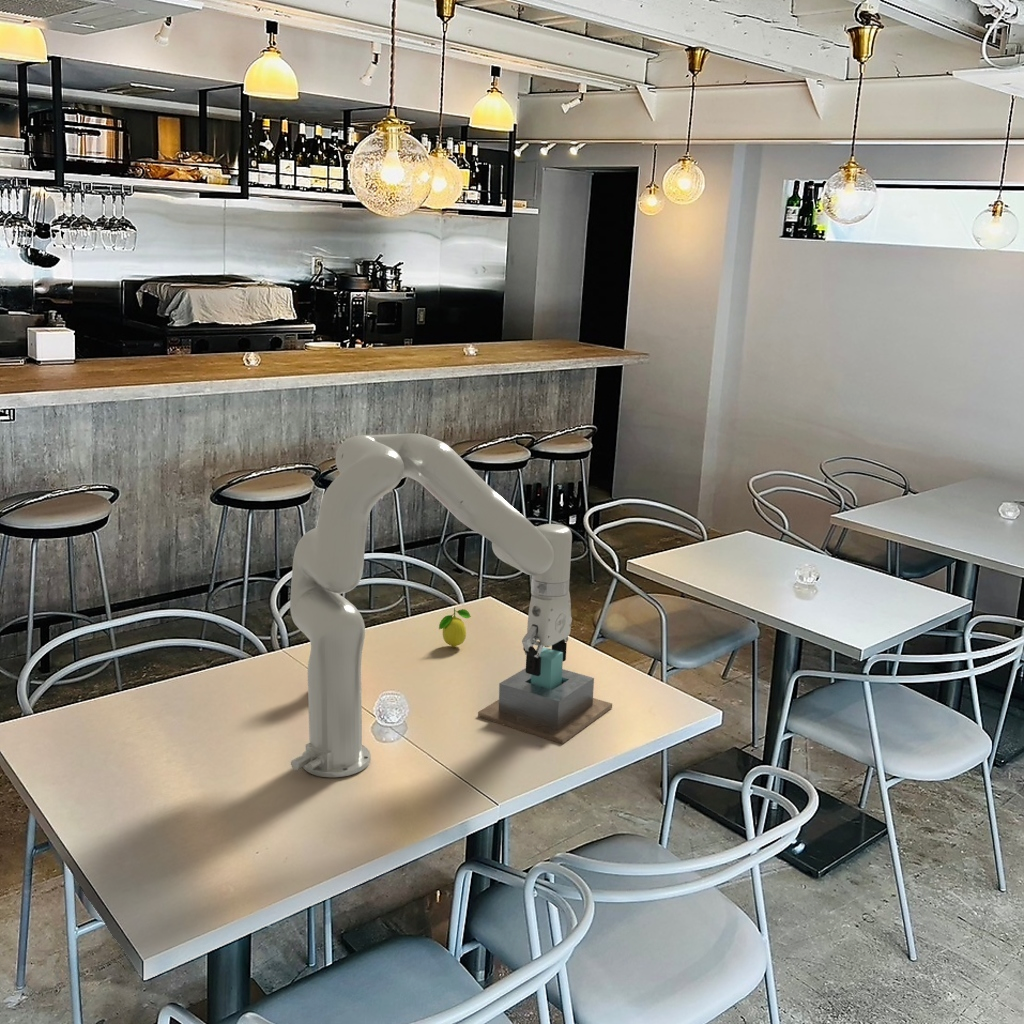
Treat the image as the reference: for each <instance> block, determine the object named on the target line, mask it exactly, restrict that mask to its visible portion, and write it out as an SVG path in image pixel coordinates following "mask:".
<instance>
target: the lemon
mask: <svg viewBox="0 0 1024 1024" xmlns="http://www.w3.org/2000/svg"><path fill="white" fill-rule="evenodd" d="M456 613H457V614H458V615H459V616H460V617H462V618H464V619H471V617H472V616H471V614H470V612H469V611H468V610H466V609H463V608H462V609H459V610H456V607H454V608H453V614H451V615H450V614H449V615H445V616H444V617H443V618H441V620H440V622H439V625H438V630H441V629H442V639H443V640H444V642H445V643H446V644H447V645H449V646H451V647H452V648H456V647H457V646H460V645H462V644H463V643H464V641H465V640H466V638H467V637H466V636H467V630H466V625H465V623H464V622H463V620H462V619H461V618H459V617H457V616H456Z"/></svg>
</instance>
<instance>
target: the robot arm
mask: <svg viewBox="0 0 1024 1024" xmlns="http://www.w3.org/2000/svg"><path fill="white" fill-rule="evenodd" d="M335 465H336V468H337V470H338V472H339V474H338V475H337V477H335V478H334V479H333V481H332V482H331V483H330V485H329V486H328V487H327V489H326V490H325V493H324V494H323V496H322V499H321V501H320V506H319V512H318V519H317V524H316V525H317V527H315V528H312V529H310V530H309V531H307V532H305V533H304V534H303V535H302V537H300V539H299V540H298V542H297V544H296V547H295V549H294V554H293V558H292V560H293V561H292V571H291V583H290V584H291V585H290V596H289V597H290V600H289V601H290V602H289V604H290V605H289V607H290V609H289V610H290V616H291V618H292V621H293V623H294V625H295V626H296V627H297V628H298V629H299V630H300V631H301V632H302V634H304V635H305V637H306V638H307V639H308V640H309V642H310V653H309V657H308V661H307V662H308V664H307V689H308V691H307V694H308V695H307V696H308V731H309V732H308V734H309V735H308V736H309V740H308V743H307V744H305V750H304V752H302V754H301V755H299V756H297V757H296V758H294V759H292V760H291V761H290V765H291V768H292V769H293V770H295V771H297V770H300V769H302V768H303V770H305V771H306V772H308V774H312V775H314V776H317V777H322V778H344V777H348V776H352V775H355V774H357V773H360V772H361V771H363V770H365V769H366V768H367V767H368V766H369V765H370V763H371V761H372V760H371V759H372V758H371V756H372V755H371V752H370V750H369V749H368V747H366V746H365V745H363V723H362V722H363V721H362V719H363V718H362V717H363V715H362V712H363V711H362V708H363V707H362V705H363V704H362V698H363V697H362V657H363V648H364V644H365V636H366V627H365V621H364V619H363V616H362V614H361V613H360V611H359V610H358V609H357V607H356V606H355V605H354V604H353V603H352V602H350V601H349V600H348V599H346V598H345V597H344V596H342V595H341V594H346V593H348V592H351V591H353V590H354V589H356V588H357V586H358V585H359V583H360V581H361V579H362V577H363V572H364V563H365V550H366V539H367V538H366V536H367V527H368V521H369V517H370V513H371V511H372V509H373V507H374V506H375V505H376V503H377V502H378V501H380V499H382V498H383V497H384V496H386V495H387V494H388V493H390V492H391V491H392V490H394V489H395V488H396V487H398V485H399V483H400V482H401V480H402V479H403V478H410V479H412V480H414V481H416V482H417V483H419V484H420V485H422V487H424V488H425V489H426V490H427V491H428V492H429V493H430V494H431V495H432V496H433V497H434V498H436V499H437V501H439V502H440V504H441V505H442V506H443V507H444V508H446V510H447V511H448V512H449V513H451V514H452V515H453V516H454V517H455V519H457V520H458V521H459V522H461V523H462V524H463V525H464V526H466V527H467V528H469V529H471V530H472V531H474V532H476V533H477V534H478V535H480V536H482V537H484V538H486V539H487V540H488V541H490V542H491V548H492V551H493V554H494V555H495V556H496V557H497V559H499V560H500V561H502V562H504V563H505V564H506V565H509V566H510V567H513V568H515V569H516V570H518V571H520V572H522V573H524V574H525V575H529V576H531V583H530V584H531V585H530V587H531V589H530V594H531V597H530V603H529V606H528V607H529V608H528V616H527V626H526V627H527V629H526V634H525V635H524V637H523V638H522V639H521V642H522V643H521V644H522V646H523V648H522V649H523V651H524V655H525V668H526V673H528V674H532V675H535V676H539V675H540V674H541V657H539V656H540V653H541V651H542V649H543V647H544V648H549V647H551V649H552V650H556V651H560V652H563V662H565V661H566V660H567V645H568V644H567V643H568V641H569V636H570V634H571V629H572V628H571V627H572V621H573V617H572V606H571V605H572V603H571V594H570V577H571V575H570V574H571V560H572V559H571V557H572V542H573V534H572V531H571V529H570V528H569V527H568V526H566V525H562V524H558V523H546V524H545V523H544V524H540V525H538V526H537V525H534V524H533V523H532V522H531V521H530V520H529V519H528V518H526V517H525V516H524V515H523V514H522V513H520V511H518V510H517V509H516V508H514V507H513V506H512V505H511V504H510V503H509V502H508V501H507V500H505V499H504V498H503V496H501V495H500V494H499V493H498V492H497V491H495V490H494V489H493V488H492V487H491V486H490V485H489V484H487V482H486V481H485V480H484V479H483V478H482V477H481V476H479V475H478V473H477V472H475V470H474V469H473V468H472V467H471V466H470V465H469V464H468V463H467V462H466V461H465V460H464V459H463V458H462V457H461V456H460V455H459V454H458V453H457V452H456V451H455V450H454V449H453V448H452V447H450V446H449V445H448V444H447V443H445V442H444V441H441V440H439V439H436V438H433V437H430V436H428V435H426V434H422V433H413V432H412V433H389V434H388V433H387V434H386V433H385V434H383V433H382V434H361V435H360V434H359V435H354V436H351V437H348V438H346V439H345V440H344V441H343V442H342V443H341V444H340V445H339V447H338V448H337V451H336V454H335ZM534 646H537V647H536V648H534Z"/></svg>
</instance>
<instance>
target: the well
mask: <svg viewBox="0 0 1024 1024" xmlns="http://www.w3.org/2000/svg"><path fill="white" fill-rule="evenodd" d="M594 683H595V677H592V676H588V675H585V674H582V673H578V672H574V671H570V670H568V669H564V668H562V684H561V685H560V686H558V687H557V688H555V689H553V690H550V689H547V688H544V687H540V686H537V685H533V684H531V674H528V673H526V667H525V668H523V669H522V670H520V671H518V672H516V673H515V674H513V675H511V676H510V677H508V678H507V679H504V680H503V681H501V682H499V687H498V699H497V700H495V701H494V702H492V703H491V704H488V706H486V707H484V708H481V710H479V711H478V712H477V717H478V718H481V719H485V720H488V721H490V722H493V721H494V723H496V722H497V723H496V724H499V723H500V724H501V725H502V724H504V725H503V726H506V727H509V726H510V727H509V728H512V729H515V728H516V729H515V730H518V729H519V730H518V731H521V730H522V731H521V732H524V731H525V732H524V733H527V732H528V733H527V734H530V733H531V735H533V734H534V735H533V736H536V735H538V736H537V737H539V736H541V737H540V738H542V737H544V739H546V738H547V739H546V740H549V741H552V742H556V743H558V744H561V745H563V744H565V743H566V742H568V741H569V740H570V739H571V737H572V738H573V737H574V736H576V735H577V734H578V733H580V732H581V731H583V730H584V729H585V728H587V727H588V726H589V725H591V724H593V723H594V722H595V721H596V720H598V719H600V717H602V716H603V715H605V714H606V713H607V712H609V711H610V710H611V709H612V708H613V703H611V702H608V701H606V700H601V699H599V698H594V685H595V684H594ZM586 726H587V727H586ZM582 729H583V730H582Z"/></svg>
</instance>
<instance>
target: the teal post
mask: <svg viewBox="0 0 1024 1024" xmlns="http://www.w3.org/2000/svg"><path fill="white" fill-rule="evenodd" d="M539 657H541V674H540V675H539V676H535V675H532V674H531V684H533V685H537V686H540V687H544V688H547V689H550V690H553V689H555V688H557V687H558V686H560V685H561V684H562V669H563V663H564V661H563V652H560V651H556V650H552V648H549V647H544V646H543V649H542V651H541V653H540V656H539Z"/></svg>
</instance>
